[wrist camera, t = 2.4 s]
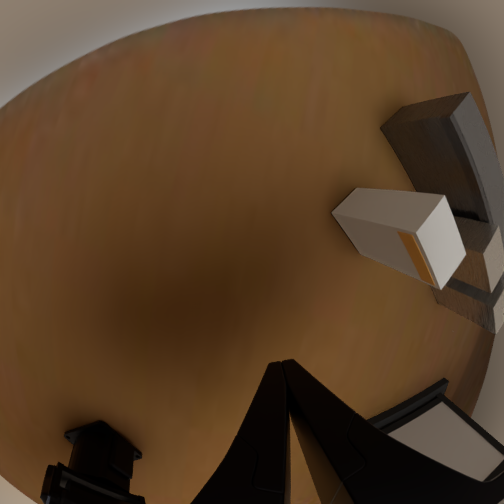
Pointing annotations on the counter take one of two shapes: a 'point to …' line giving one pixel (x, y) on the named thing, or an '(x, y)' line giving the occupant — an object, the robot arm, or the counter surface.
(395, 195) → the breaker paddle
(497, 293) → the box
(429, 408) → the lantern
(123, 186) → the counter surface
